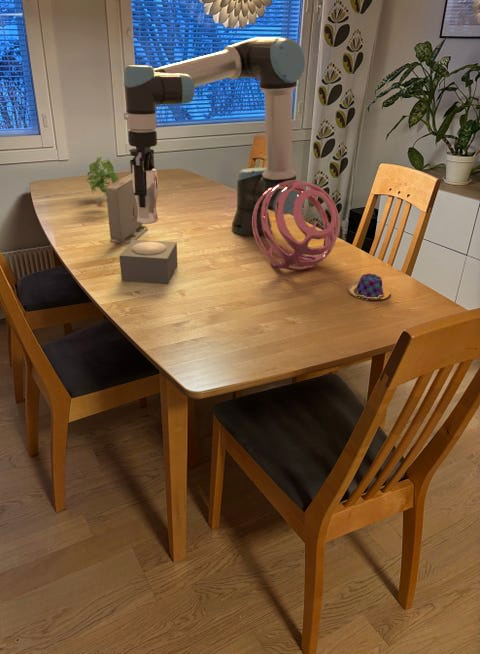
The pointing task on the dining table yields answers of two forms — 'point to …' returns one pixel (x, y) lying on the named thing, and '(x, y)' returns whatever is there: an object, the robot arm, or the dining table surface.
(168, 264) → the plate
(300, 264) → the spiral basket
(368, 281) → the sun hat
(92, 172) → the plant cuttings
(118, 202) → the network device
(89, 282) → the dining table surface
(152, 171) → the beer glass
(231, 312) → the dining table surface
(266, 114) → the robot arm
